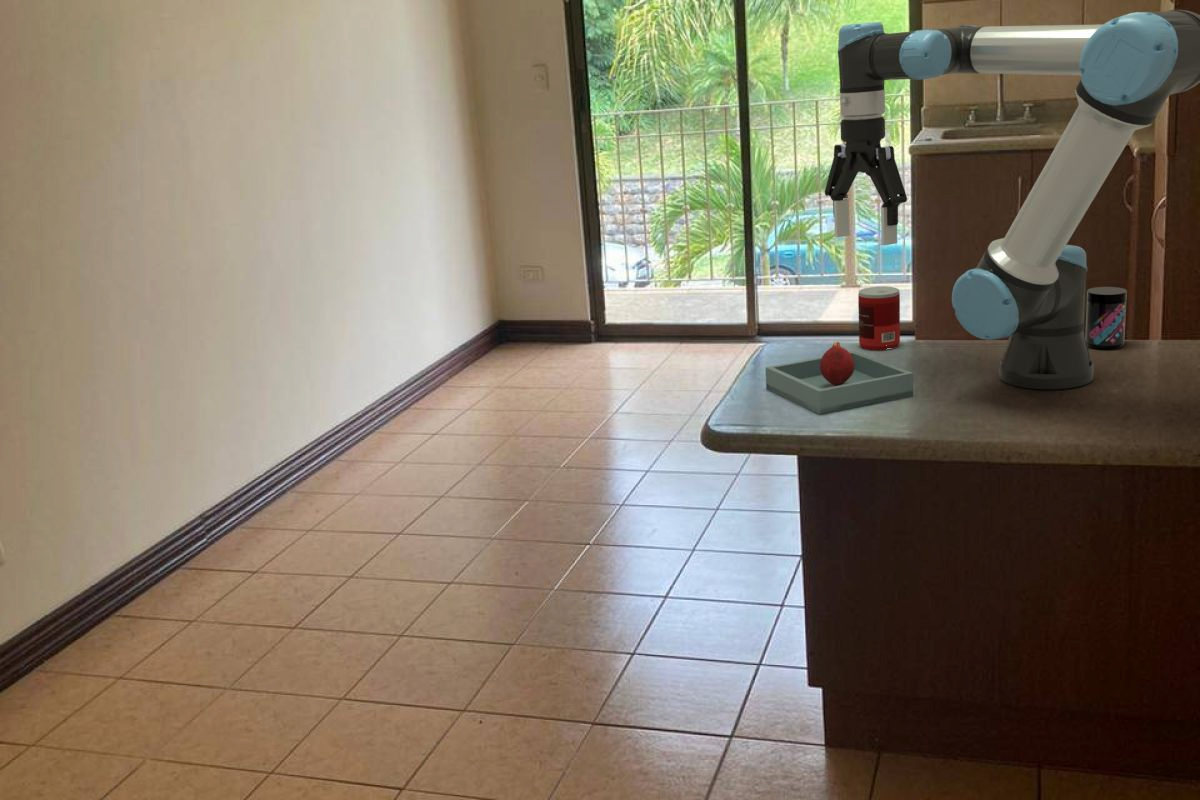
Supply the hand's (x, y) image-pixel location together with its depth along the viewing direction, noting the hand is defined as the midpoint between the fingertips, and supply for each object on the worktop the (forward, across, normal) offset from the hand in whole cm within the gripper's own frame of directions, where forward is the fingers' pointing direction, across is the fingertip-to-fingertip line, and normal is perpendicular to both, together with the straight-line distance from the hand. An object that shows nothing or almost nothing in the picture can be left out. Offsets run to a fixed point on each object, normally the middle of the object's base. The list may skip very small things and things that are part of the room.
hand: (865, 240), depth 213 cm
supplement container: (+24, +14, +42) cm, 51 cm away
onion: (+23, +8, -12) cm, 27 cm away
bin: (+24, +8, -12) cm, 28 cm away
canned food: (+24, -13, +12) cm, 30 cm away
